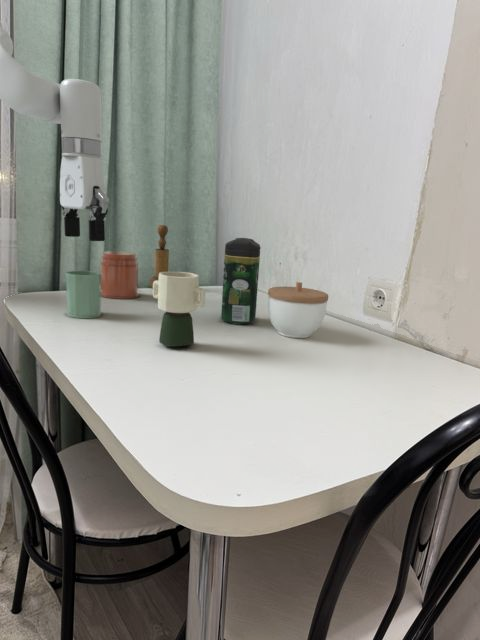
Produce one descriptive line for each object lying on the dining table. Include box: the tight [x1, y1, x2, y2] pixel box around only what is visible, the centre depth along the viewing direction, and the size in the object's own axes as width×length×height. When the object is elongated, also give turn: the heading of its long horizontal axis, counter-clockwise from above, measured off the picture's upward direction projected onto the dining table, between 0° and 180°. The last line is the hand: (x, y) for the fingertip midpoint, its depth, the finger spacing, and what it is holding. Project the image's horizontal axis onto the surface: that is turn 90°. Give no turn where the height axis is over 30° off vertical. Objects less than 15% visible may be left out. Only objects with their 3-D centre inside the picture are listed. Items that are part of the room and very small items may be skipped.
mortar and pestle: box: [149, 224, 170, 289], centre depth 147 cm, size 7×6×18 cm
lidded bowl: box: [267, 281, 329, 339], centre depth 107 cm, size 13×13×11 cm
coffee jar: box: [220, 237, 262, 325], centre depth 113 cm, size 10×8×19 cm
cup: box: [65, 270, 102, 319], centre depth 108 cm, size 7×7×9 cm
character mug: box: [152, 271, 206, 348], centre depth 90 cm, size 11×7×13 cm, turn 64°
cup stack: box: [100, 250, 139, 300], centre depth 131 cm, size 10×10×11 cm
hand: (84, 238), depth 104 cm, fingers open, 9 cm apart
